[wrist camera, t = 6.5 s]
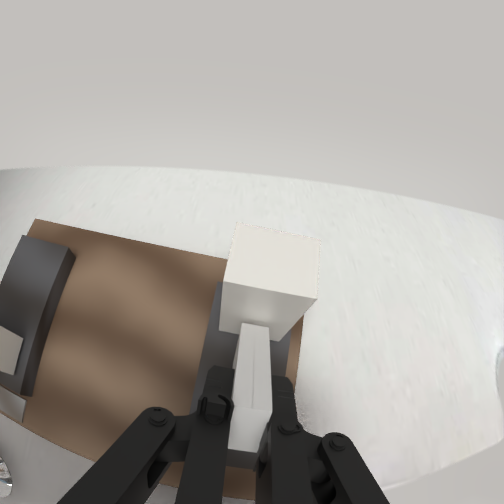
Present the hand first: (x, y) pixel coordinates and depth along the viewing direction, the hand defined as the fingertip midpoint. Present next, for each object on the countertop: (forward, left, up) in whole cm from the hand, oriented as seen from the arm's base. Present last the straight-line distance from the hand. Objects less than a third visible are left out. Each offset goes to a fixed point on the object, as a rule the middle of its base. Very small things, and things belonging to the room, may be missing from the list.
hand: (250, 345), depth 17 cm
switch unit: (-7, -6, -6) cm, 11 cm away
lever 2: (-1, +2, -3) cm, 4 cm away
